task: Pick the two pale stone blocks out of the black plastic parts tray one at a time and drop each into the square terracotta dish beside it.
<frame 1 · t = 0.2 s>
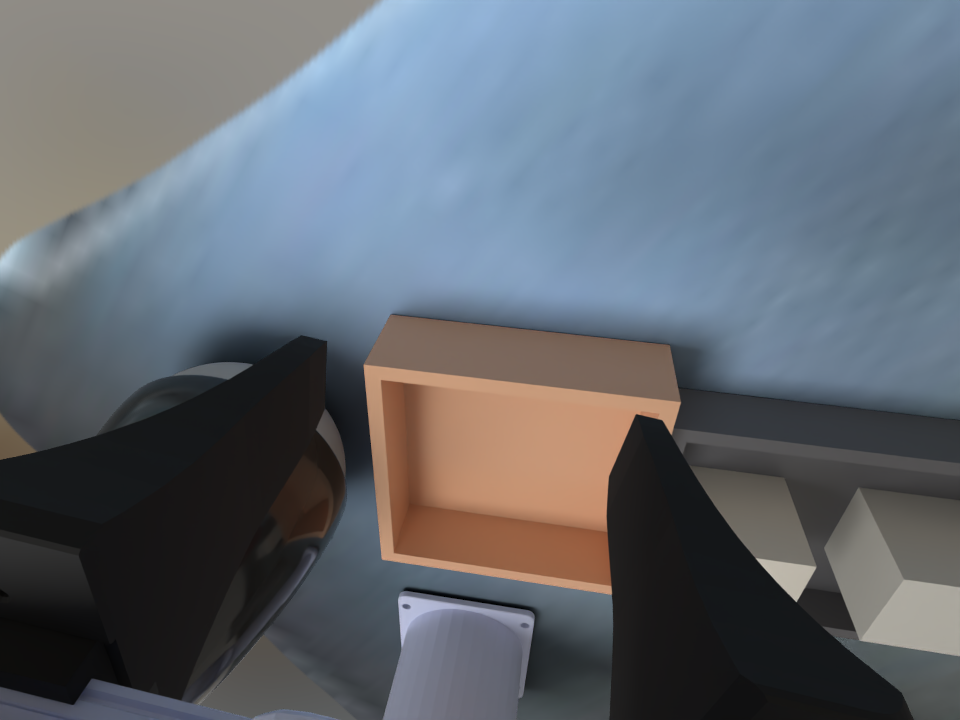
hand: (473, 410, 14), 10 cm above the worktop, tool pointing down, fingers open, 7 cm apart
terracotta dish: (516, 434, 27), on the worktop
parts tray: (801, 503, 27), on the worktop
dark grey rounded dome: (270, 415, 29), on the worktop
stone b: (888, 525, 26), point 1 cm above the worktop, touching parts tray
stone a: (723, 503, 27), point 1 cm above the worktop, touching parts tray
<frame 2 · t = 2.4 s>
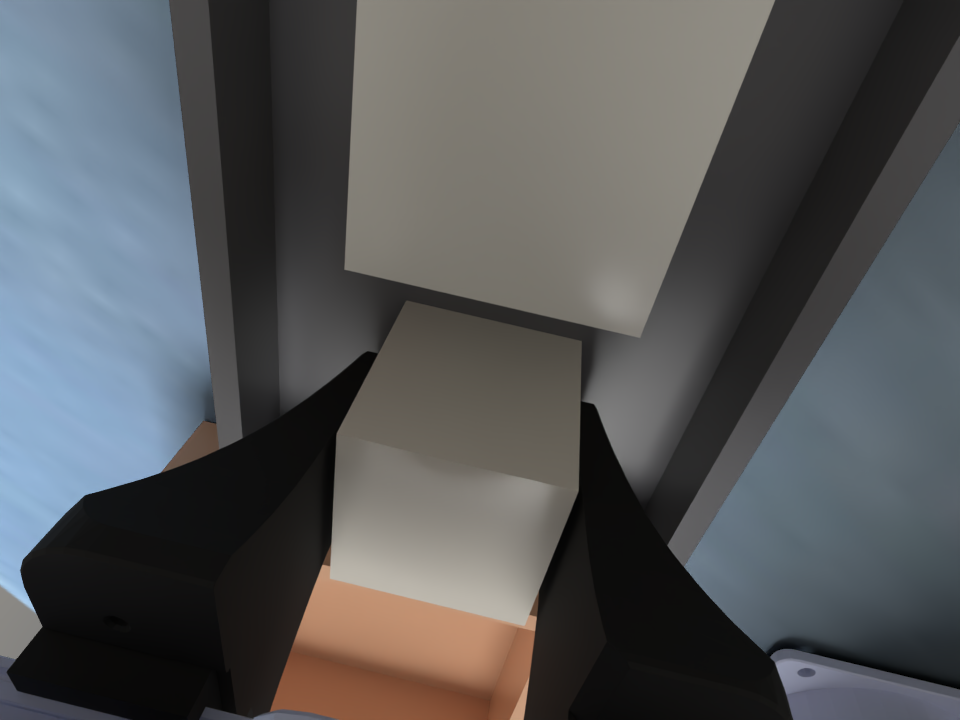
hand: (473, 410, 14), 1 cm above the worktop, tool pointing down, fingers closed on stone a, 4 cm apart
terracotta dish: (376, 579, 20), on the worktop
parts tray: (510, 248, 13), on the worktop
stone b: (547, 80, 10), point 1 cm above the worktop, touching parts tray
stone a: (478, 389, 14), point 1 cm above the worktop, touching gripper, parts tray
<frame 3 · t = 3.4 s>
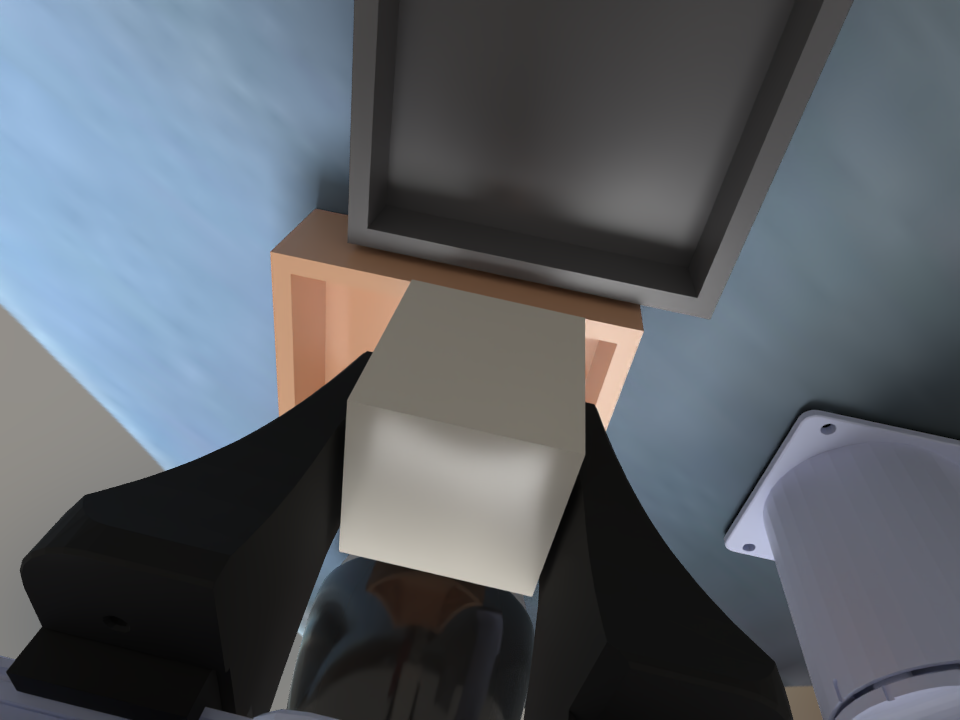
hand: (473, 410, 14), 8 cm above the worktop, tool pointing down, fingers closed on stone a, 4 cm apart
terracotta dish: (453, 371, 24), on the worktop
parts tray: (587, 5, 16), on the worktop
dark grey rounded dome: (442, 556, 31), on the worktop
stone a: (483, 369, 15), point 7 cm above the worktop, touching gripper
when the fingers open (4 cm above the worktop, at t = 4.8 s): stone a drops 2 cm, resting on terracotta dish.
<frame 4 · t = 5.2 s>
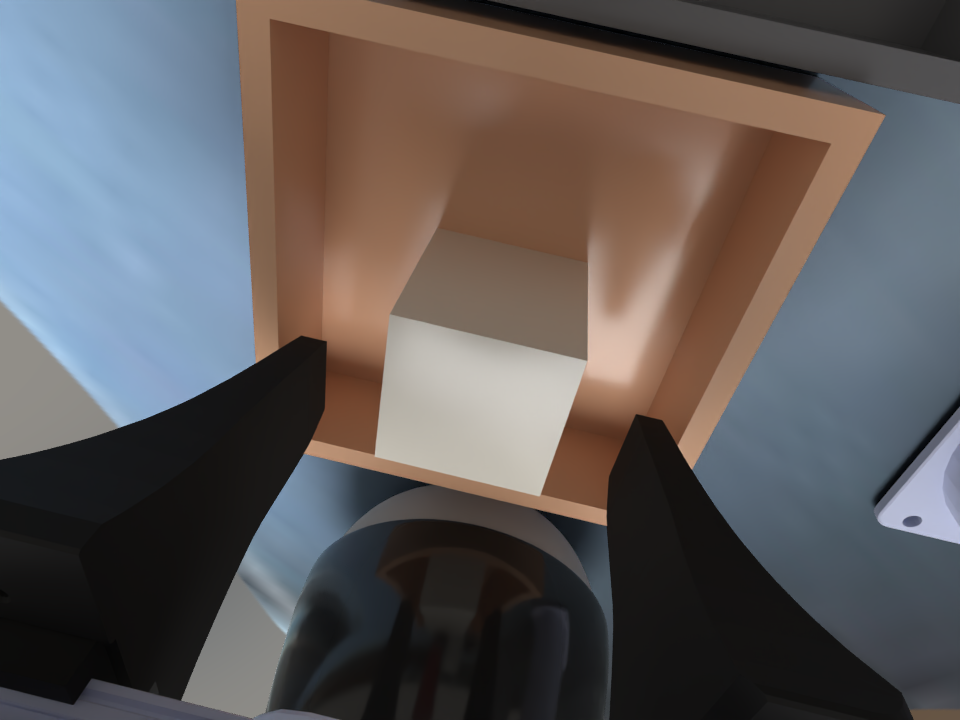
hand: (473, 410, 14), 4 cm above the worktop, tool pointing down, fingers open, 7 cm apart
terracotta dish: (511, 253, 16), on the worktop
dark grey rounded dome: (474, 533, 23), on the worktop
stone a: (497, 310, 17), point 1 cm above the worktop, touching terracotta dish
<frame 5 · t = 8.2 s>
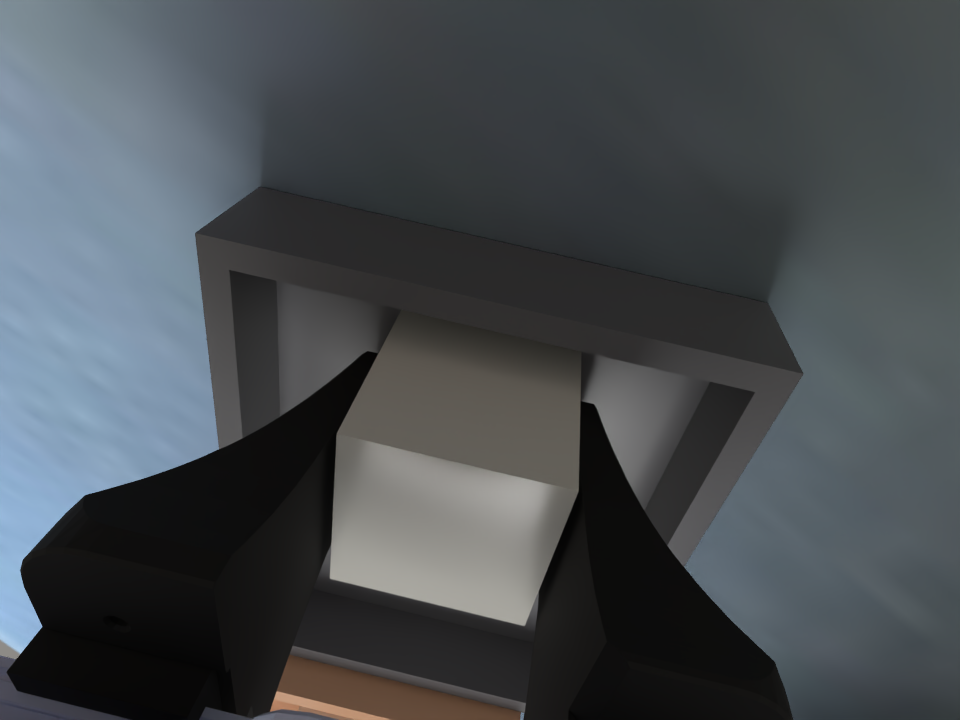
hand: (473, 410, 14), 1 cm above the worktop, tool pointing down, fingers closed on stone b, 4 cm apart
terracotta dish: (364, 679, 25), on the worktop
parts tray: (460, 472, 17), on the worktop
stone b: (478, 389, 14), point 1 cm above the worktop, touching gripper, parts tray
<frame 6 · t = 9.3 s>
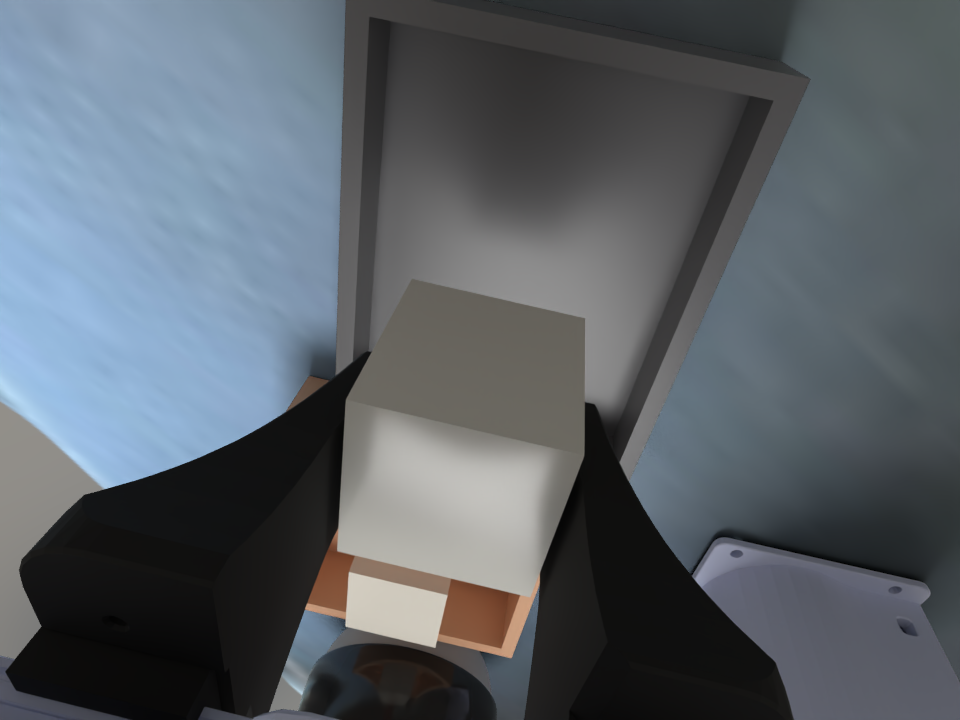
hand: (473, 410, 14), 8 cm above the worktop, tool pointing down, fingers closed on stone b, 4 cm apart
terracotta dish: (425, 495, 28), on the worktop
parts tray: (524, 254, 20), on the worktop
dark grey rounded dome: (420, 632, 35), on the worktop
stone b: (482, 369, 15), point 7 cm above the worktop, touching gripper
stone a: (418, 525, 28), point 1 cm above the worktop, touching terracotta dish
when the fingers open (4 cm above the worktop, at t = 10.8 s): stone b stays where it is, resting on stone a, terracotta dish.
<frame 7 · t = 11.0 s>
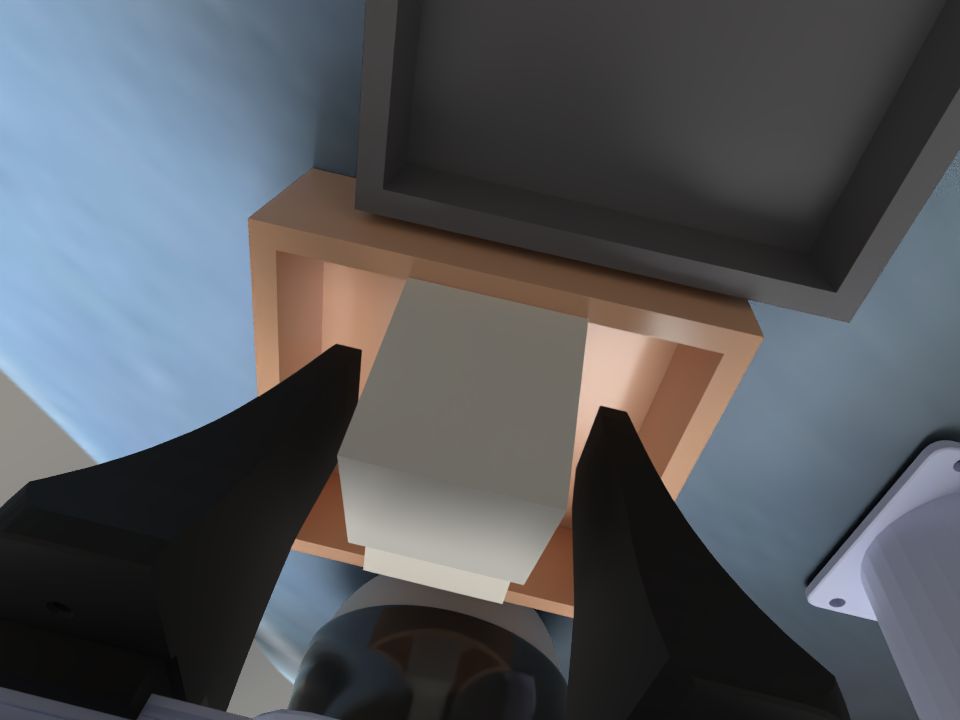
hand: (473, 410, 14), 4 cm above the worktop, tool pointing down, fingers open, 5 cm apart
terracotta dish: (482, 382, 19), on the worktop
dark grey rounded dome: (456, 599, 26), on the worktop
stone b: (485, 354, 14), point 3 cm above the worktop, tilted 16°, touching stone a, terracotta dish
stone a: (470, 429, 19), point 1 cm above the worktop, touching stone b, terracotta dish
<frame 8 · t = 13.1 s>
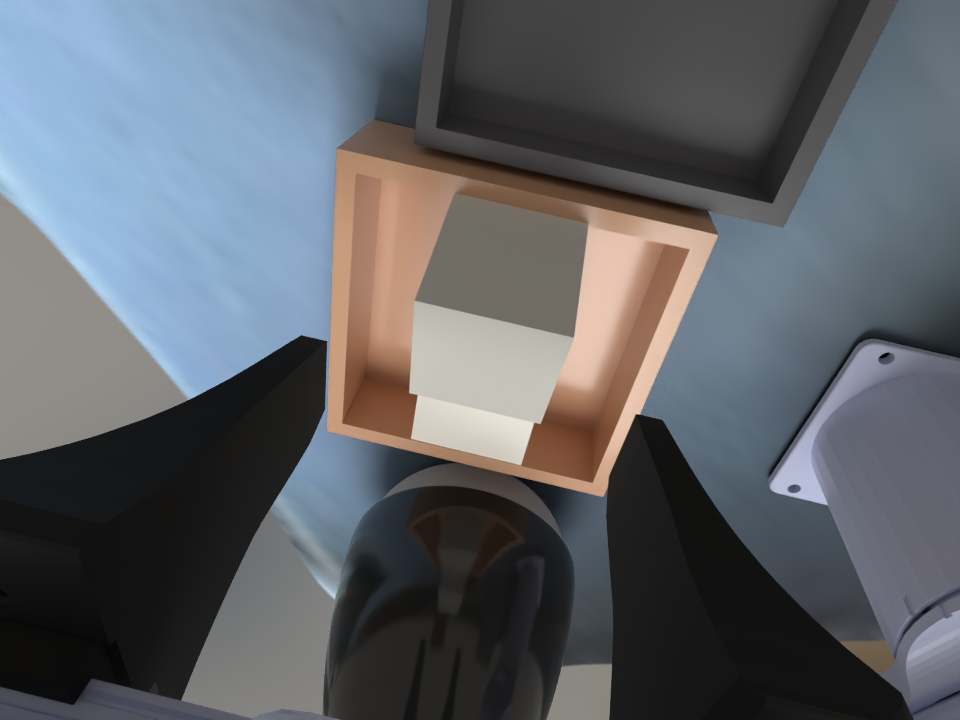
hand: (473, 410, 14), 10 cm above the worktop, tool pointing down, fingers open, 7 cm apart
terracotta dish: (502, 298, 23), on the worktop
dark grey rounded dome: (476, 503, 30), on the worktop
stone b: (510, 259, 19), point 3 cm above the worktop, tilted 16°, touching stone a, terracotta dish
stone a: (493, 338, 24), point 1 cm above the worktop, touching stone b, terracotta dish
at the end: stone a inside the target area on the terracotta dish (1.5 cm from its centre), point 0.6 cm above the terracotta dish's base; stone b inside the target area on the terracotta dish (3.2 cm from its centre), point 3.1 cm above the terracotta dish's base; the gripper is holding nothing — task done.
